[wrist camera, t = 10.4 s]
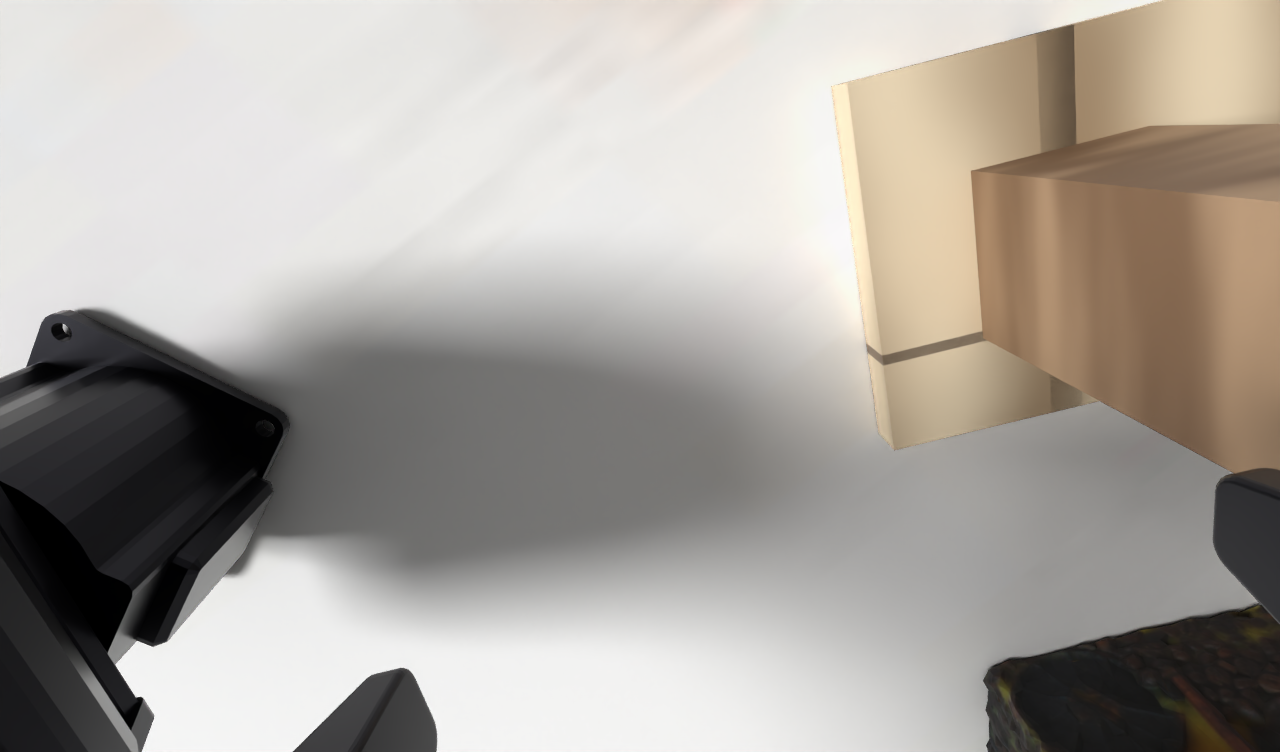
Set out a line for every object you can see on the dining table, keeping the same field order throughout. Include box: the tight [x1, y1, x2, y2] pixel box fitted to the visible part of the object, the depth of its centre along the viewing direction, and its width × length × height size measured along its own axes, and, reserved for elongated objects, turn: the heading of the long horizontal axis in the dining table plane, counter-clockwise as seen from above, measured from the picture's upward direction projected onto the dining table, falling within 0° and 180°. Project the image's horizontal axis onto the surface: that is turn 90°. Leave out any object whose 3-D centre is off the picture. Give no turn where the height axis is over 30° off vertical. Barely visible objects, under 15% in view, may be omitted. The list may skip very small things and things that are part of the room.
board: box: [831, 0, 1280, 450], centre depth 18 cm, size 22×10×1 cm, turn 103°
